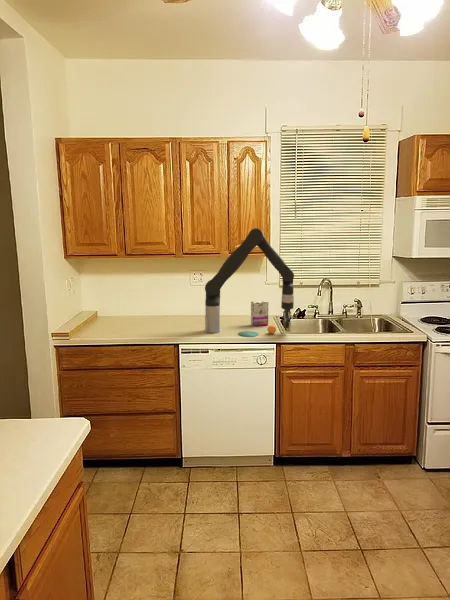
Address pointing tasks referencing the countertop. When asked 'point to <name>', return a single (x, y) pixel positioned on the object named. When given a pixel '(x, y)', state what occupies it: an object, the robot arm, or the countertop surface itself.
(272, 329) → the ball
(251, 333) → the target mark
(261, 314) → the candy bar box
